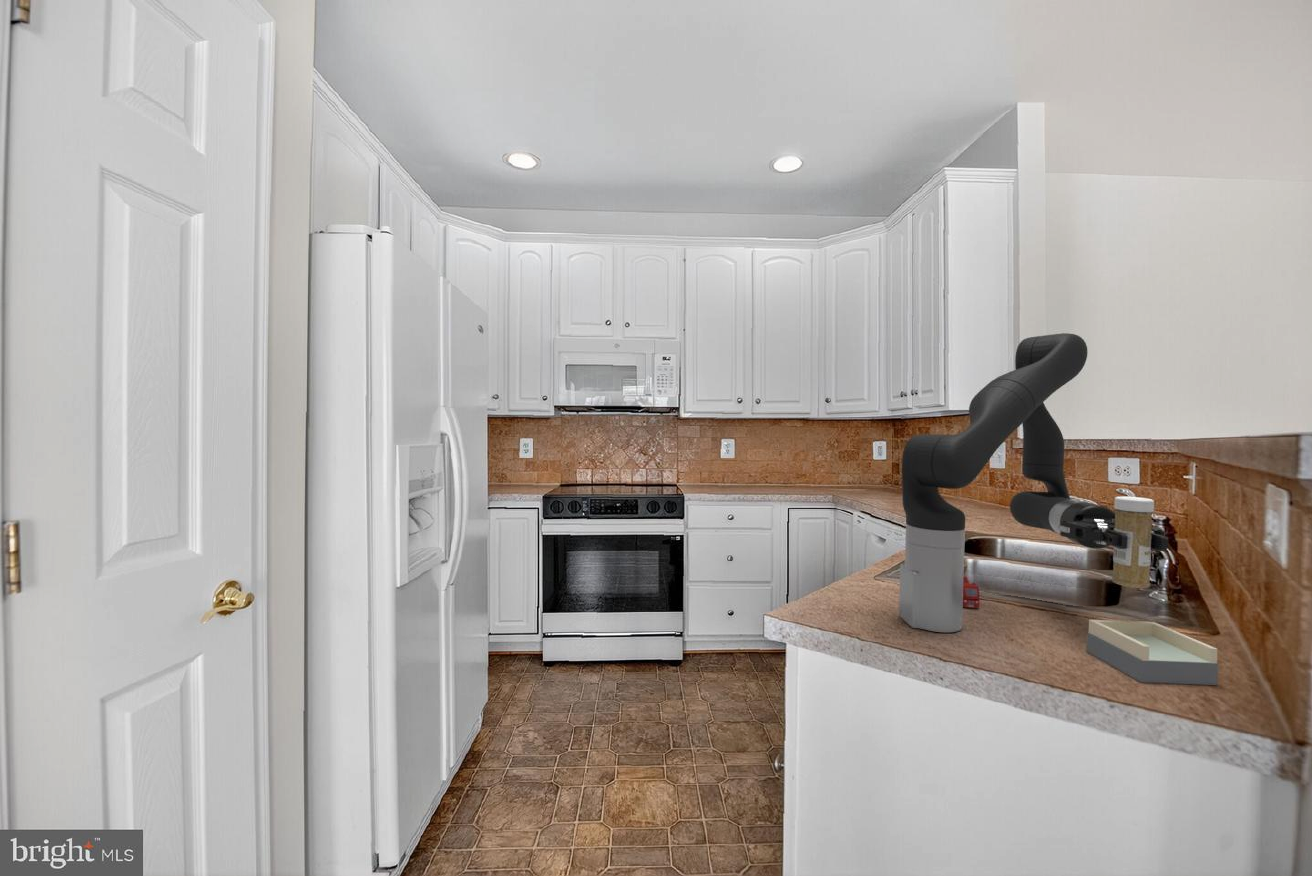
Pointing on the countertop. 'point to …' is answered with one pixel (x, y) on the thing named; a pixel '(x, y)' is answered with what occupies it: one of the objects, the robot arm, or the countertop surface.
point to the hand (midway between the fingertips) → (1144, 543)
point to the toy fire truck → (970, 591)
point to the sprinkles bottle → (1133, 541)
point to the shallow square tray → (1152, 652)
